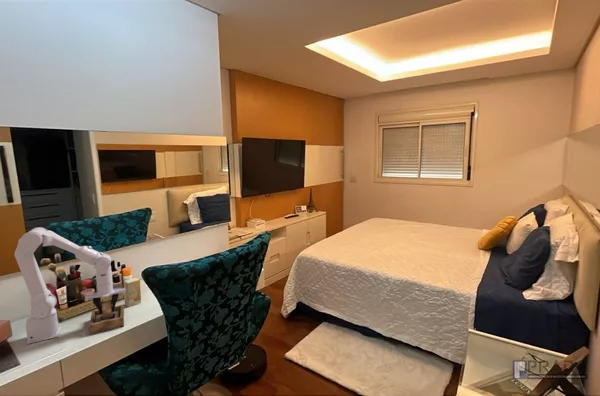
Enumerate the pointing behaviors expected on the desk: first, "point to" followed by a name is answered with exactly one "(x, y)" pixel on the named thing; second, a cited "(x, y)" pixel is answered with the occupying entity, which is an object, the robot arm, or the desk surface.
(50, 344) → the desk surface
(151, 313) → the desk surface
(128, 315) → the desk surface
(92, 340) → the desk surface
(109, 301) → the maple peg
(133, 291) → the skincare box
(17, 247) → the robot arm
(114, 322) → the socket box
